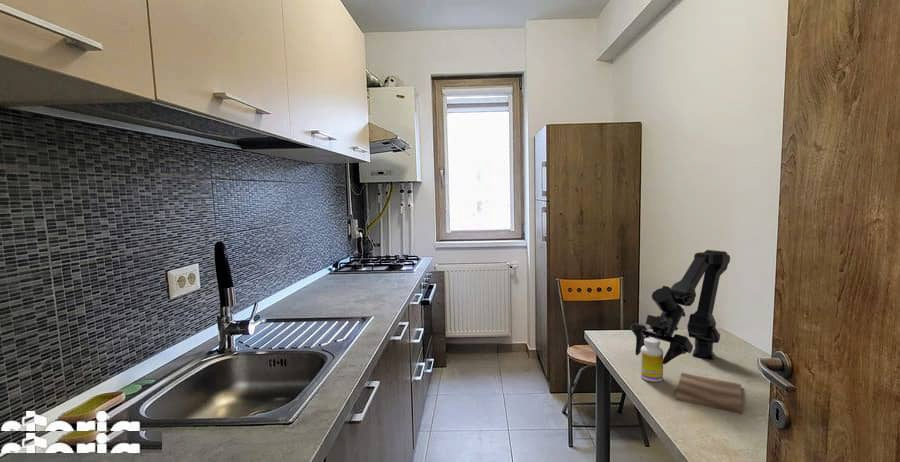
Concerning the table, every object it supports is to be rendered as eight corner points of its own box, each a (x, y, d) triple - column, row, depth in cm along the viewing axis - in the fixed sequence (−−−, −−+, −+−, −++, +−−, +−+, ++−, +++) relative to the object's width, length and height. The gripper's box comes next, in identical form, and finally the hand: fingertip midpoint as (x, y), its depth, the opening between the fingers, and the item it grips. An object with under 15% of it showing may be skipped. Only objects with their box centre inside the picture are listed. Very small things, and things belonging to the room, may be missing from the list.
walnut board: (681, 375, 137) (681, 372, 137) (740, 387, 128) (740, 384, 128) (675, 398, 122) (675, 395, 122) (741, 413, 113) (741, 410, 113)
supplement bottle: (665, 383, 131) (666, 344, 130) (643, 382, 133) (643, 343, 132) (659, 374, 138) (660, 337, 137) (638, 373, 139) (638, 336, 138)
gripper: (633, 300, 143) (613, 337, 138) (689, 312, 128) (668, 354, 123) (646, 318, 148) (627, 355, 143) (701, 331, 133) (682, 373, 128)
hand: (649, 359), depth 134 cm, fingers open, 9 cm apart
